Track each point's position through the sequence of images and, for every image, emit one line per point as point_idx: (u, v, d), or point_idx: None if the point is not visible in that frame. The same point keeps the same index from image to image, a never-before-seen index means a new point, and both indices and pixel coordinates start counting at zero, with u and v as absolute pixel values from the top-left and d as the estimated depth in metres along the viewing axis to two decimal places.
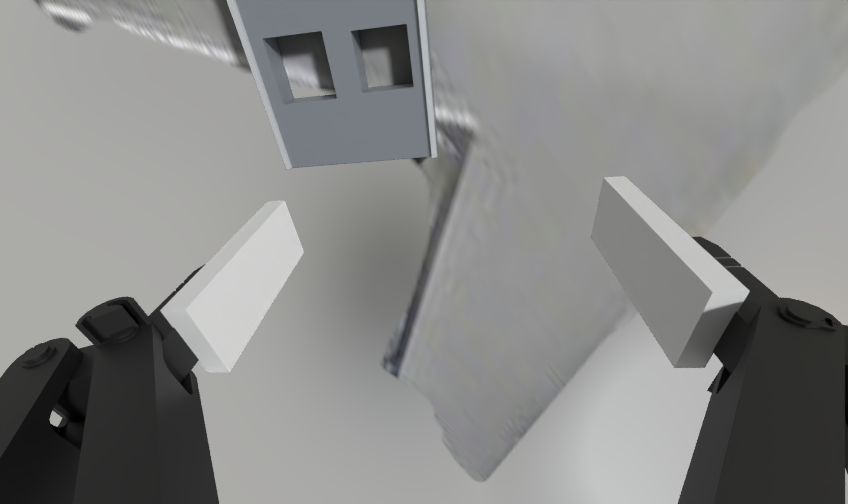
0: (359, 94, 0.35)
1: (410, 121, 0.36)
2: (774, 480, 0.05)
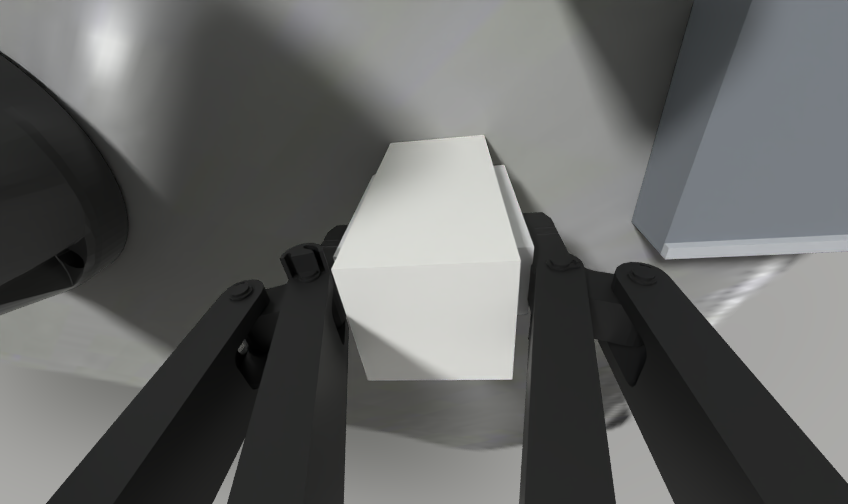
0: None
1: None
2: (561, 397, 0.06)
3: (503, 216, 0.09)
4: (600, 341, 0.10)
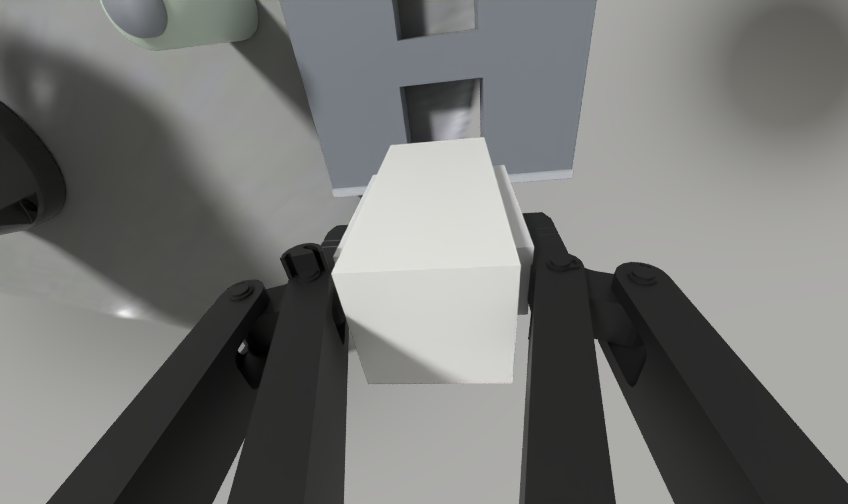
0: (480, 36, 0.22)
1: None
2: (561, 397, 0.06)
3: (503, 220, 0.09)
4: (600, 341, 0.10)
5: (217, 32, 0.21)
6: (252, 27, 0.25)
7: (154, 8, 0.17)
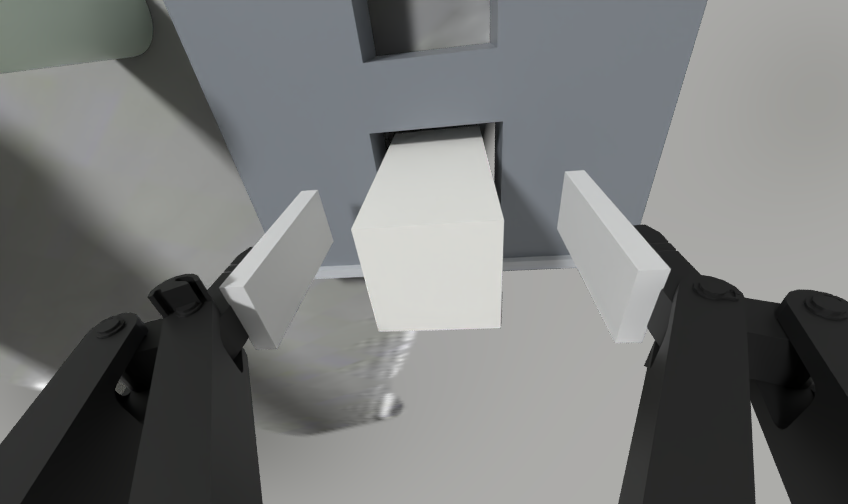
0: (500, 57, 0.13)
1: None
2: (696, 441, 0.05)
3: (492, 189, 0.11)
4: None
5: (47, 49, 0.12)
6: (141, 37, 0.16)
7: None
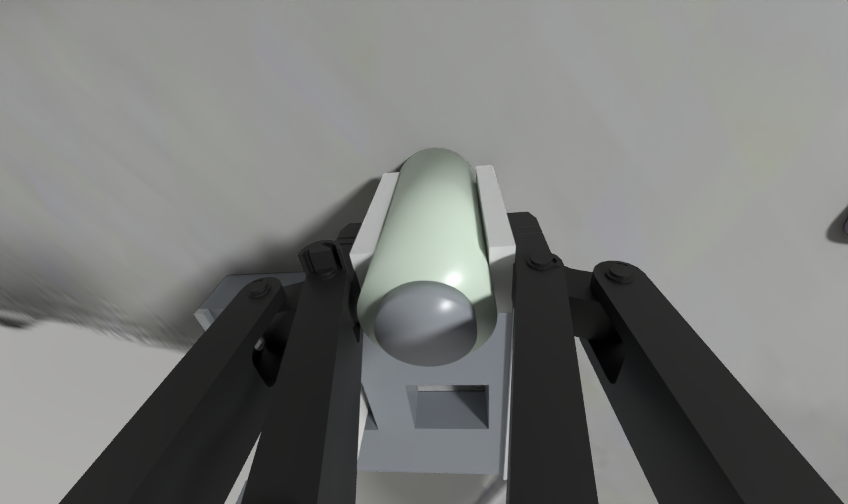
0: (410, 429, 0.25)
1: (478, 450, 0.26)
2: (543, 395, 0.06)
3: None
4: (581, 339, 0.10)
5: None
6: None
7: (419, 361, 0.10)
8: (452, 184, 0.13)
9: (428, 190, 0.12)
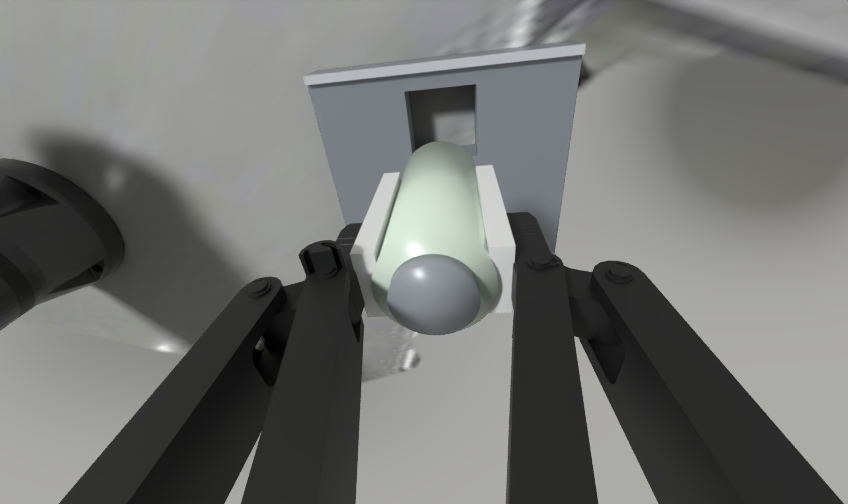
0: (479, 159, 0.28)
1: (521, 90, 0.25)
2: (543, 394, 0.06)
3: None
4: (581, 339, 0.10)
5: None
6: None
7: (428, 330, 0.11)
8: (456, 173, 0.14)
9: (434, 177, 0.13)
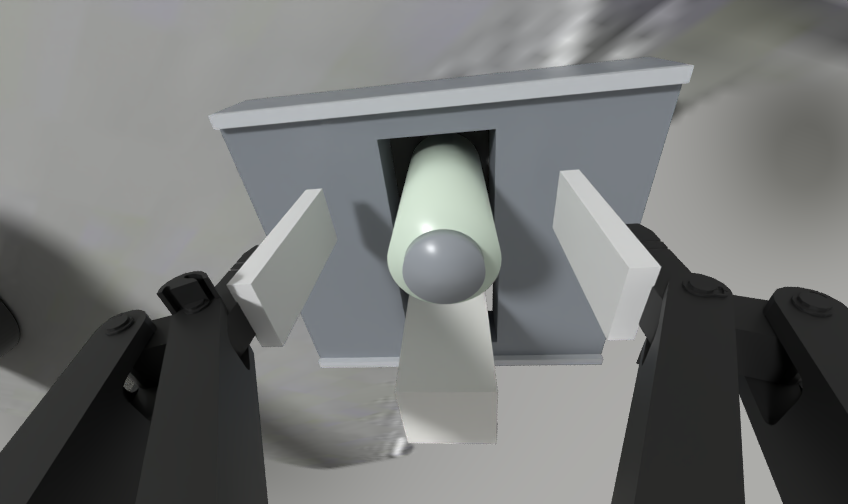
0: None
1: (570, 140, 0.15)
2: (686, 437, 0.05)
3: (490, 352, 0.16)
4: None
5: None
6: None
7: (438, 299, 0.12)
8: (461, 160, 0.15)
9: (441, 163, 0.14)
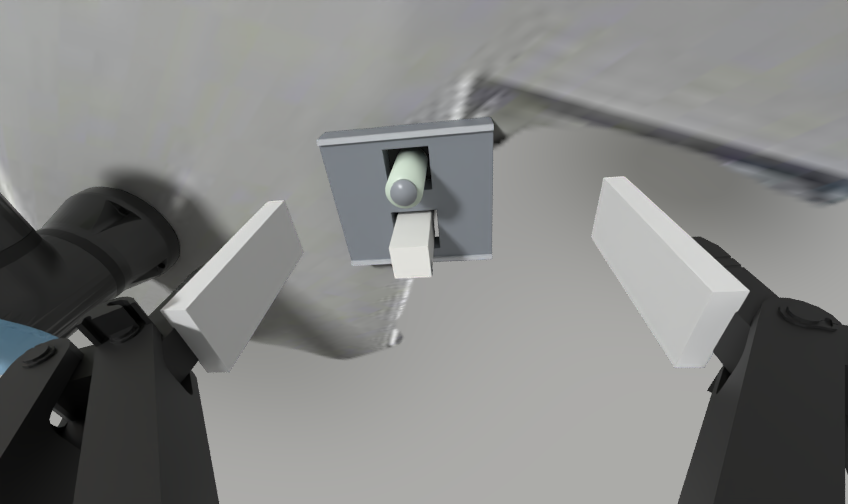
0: (433, 191, 0.41)
1: (457, 150, 0.38)
2: (774, 480, 0.05)
3: (427, 236, 0.39)
4: None
5: None
6: None
7: (402, 204, 0.35)
8: (414, 157, 0.38)
9: (406, 158, 0.38)
